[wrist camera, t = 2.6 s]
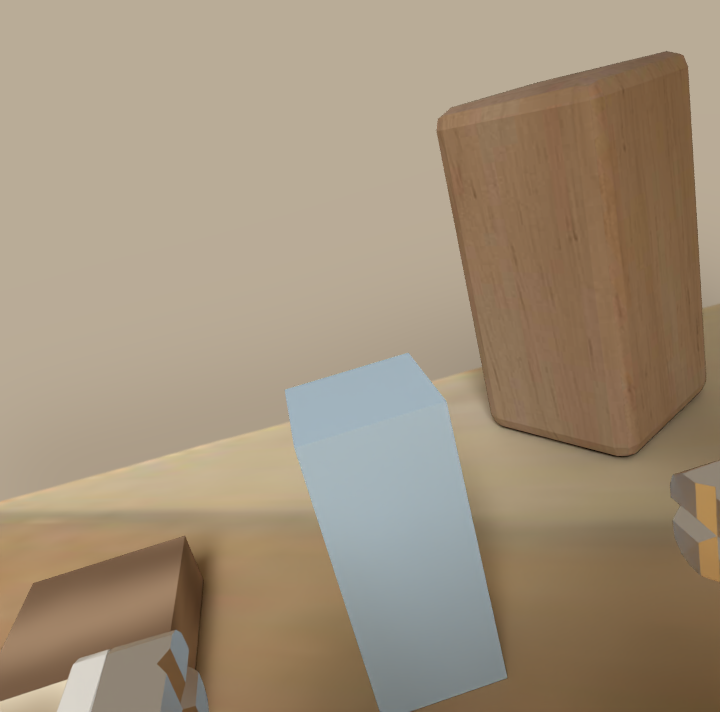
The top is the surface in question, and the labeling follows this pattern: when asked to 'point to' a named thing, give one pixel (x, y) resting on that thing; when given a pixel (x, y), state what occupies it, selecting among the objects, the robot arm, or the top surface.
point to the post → (398, 530)
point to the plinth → (97, 619)
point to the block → (582, 250)
